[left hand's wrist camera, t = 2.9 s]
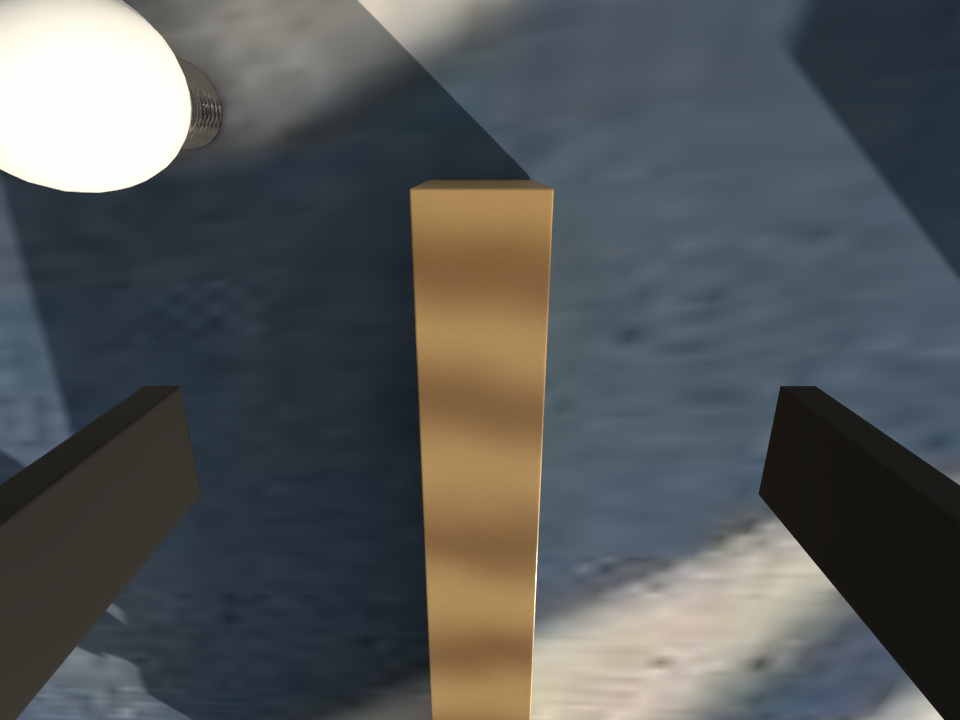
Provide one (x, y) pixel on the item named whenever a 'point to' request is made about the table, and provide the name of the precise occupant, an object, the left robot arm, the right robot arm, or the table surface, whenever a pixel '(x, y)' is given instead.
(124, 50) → the light bulb
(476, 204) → the beam
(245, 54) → the table surface
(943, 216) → the table surface
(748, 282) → the table surface
